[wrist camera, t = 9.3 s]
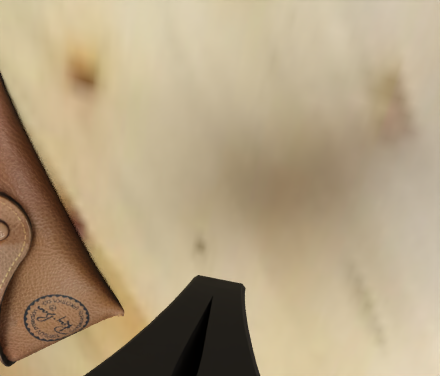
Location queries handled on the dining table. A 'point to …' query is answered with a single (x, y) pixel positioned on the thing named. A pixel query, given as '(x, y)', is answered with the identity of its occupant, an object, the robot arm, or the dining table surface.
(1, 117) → the sunglasses case
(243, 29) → the dining table surface
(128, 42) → the dining table surface
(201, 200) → the dining table surface
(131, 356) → the robot arm
